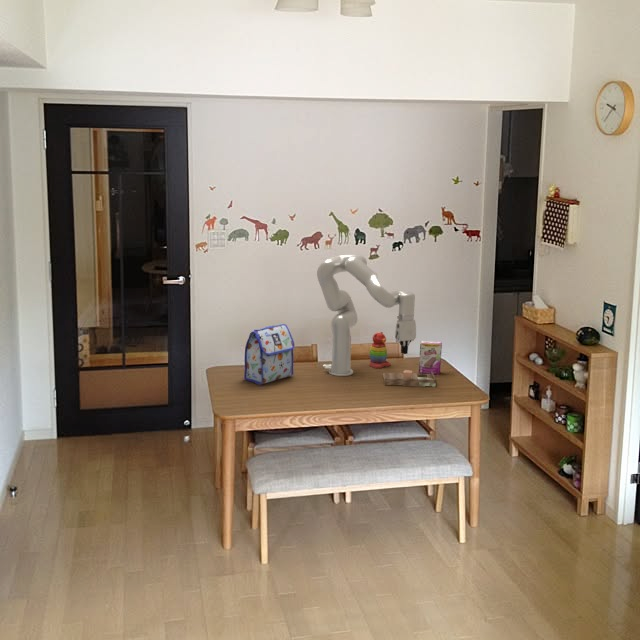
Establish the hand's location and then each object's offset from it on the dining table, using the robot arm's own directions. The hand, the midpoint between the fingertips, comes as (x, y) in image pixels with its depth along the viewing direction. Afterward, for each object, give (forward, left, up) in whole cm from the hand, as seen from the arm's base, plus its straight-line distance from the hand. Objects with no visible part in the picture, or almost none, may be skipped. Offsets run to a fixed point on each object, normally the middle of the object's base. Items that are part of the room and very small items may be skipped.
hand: (404, 353), depth 423 cm
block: (+2, -2, -13) cm, 13 cm away
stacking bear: (-11, +29, -15) cm, 34 cm away
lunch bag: (-67, 0, -15) cm, 69 cm away
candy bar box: (+15, +17, -15) cm, 27 cm away
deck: (+3, 0, -15) cm, 15 cm away
